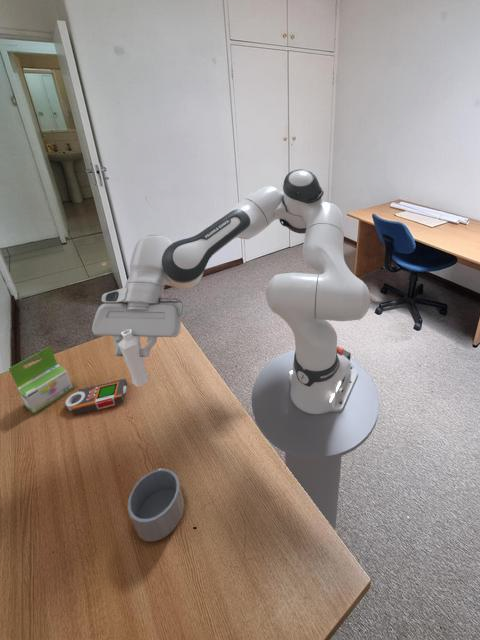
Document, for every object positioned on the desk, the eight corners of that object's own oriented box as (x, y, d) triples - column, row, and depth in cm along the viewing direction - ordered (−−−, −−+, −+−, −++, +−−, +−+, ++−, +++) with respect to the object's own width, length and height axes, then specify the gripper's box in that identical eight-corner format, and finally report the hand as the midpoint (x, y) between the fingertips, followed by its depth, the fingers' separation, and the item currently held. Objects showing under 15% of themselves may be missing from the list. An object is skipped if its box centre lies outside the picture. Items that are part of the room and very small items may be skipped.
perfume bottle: (131, 375, 82) (116, 328, 75) (150, 371, 83) (137, 324, 76) (129, 390, 78) (112, 341, 71) (148, 385, 79) (134, 336, 73)
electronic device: (69, 391, 92) (126, 377, 96) (72, 398, 93) (129, 384, 97) (60, 411, 86) (122, 396, 90) (64, 419, 88) (125, 403, 91)
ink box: (33, 415, 88) (14, 377, 82) (25, 406, 91) (6, 368, 85) (74, 388, 96) (59, 352, 90) (65, 380, 99) (50, 344, 93)
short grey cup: (168, 478, 74) (162, 459, 71) (193, 508, 68) (188, 489, 65) (126, 517, 67) (118, 498, 64) (150, 554, 62) (143, 534, 59)
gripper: (188, 300, 83) (180, 357, 79) (110, 299, 84) (97, 355, 79) (179, 296, 78) (169, 357, 73) (95, 294, 78) (80, 355, 73)
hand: (131, 356), depth 76 cm, fingers closed on perfume bottle, 4 cm apart
